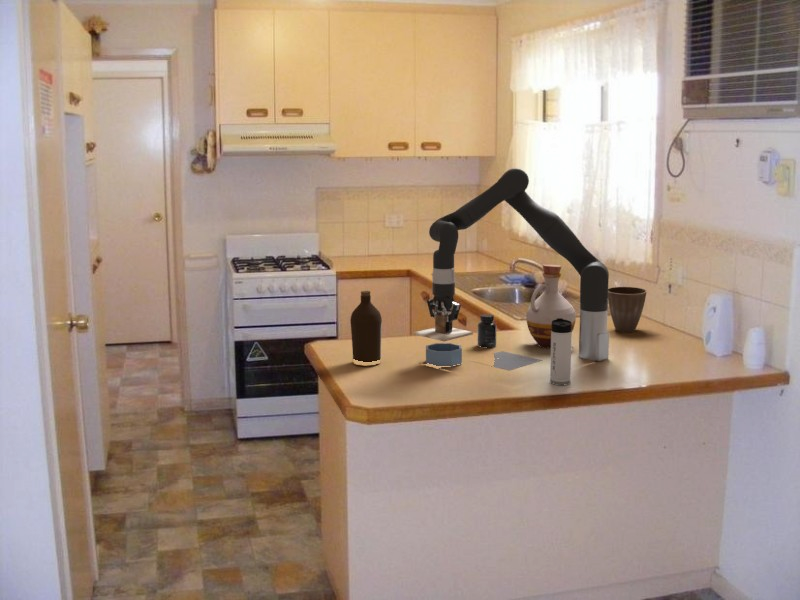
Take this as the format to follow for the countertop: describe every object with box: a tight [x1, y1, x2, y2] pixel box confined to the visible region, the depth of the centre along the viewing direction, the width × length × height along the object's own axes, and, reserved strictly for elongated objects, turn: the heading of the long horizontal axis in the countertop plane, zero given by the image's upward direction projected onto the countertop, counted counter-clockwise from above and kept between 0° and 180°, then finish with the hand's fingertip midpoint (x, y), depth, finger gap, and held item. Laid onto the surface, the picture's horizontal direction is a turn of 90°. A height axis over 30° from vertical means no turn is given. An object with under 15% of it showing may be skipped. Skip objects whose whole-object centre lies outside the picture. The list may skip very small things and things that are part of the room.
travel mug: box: [549, 318, 573, 386], centre depth 282 cm, size 6×7×20 cm
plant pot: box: [608, 286, 647, 333], centre depth 351 cm, size 15×15×16 cm
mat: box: [493, 350, 544, 371], centre depth 309 cm, size 18×18×1 cm
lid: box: [413, 313, 474, 342], centre depth 304 cm, size 14×14×7 cm
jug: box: [525, 264, 577, 349], centre depth 327 cm, size 20×18×30 cm
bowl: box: [425, 342, 463, 366], centre depth 306 cm, size 12×12×6 cm
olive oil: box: [350, 290, 383, 362], centre depth 307 cm, size 11×11×25 cm
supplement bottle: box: [477, 313, 497, 349], centre depth 328 cm, size 7×7×12 cm
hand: (443, 330), depth 304 cm, fingers closed on lid, 4 cm apart
